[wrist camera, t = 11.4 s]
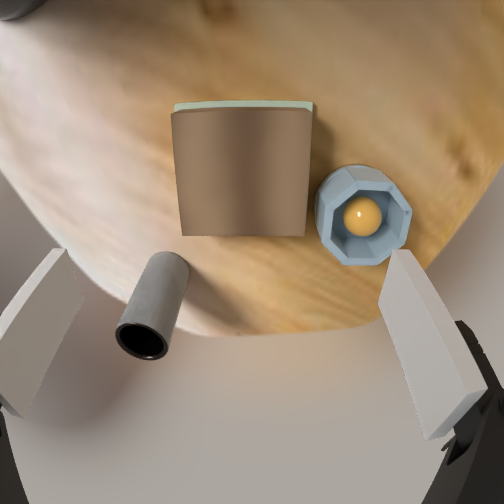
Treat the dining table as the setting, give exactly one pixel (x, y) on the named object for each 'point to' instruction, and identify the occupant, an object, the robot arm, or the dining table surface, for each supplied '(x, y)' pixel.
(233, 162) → the cover
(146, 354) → the grey cylinder
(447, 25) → the dining table surface
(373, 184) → the bowl
